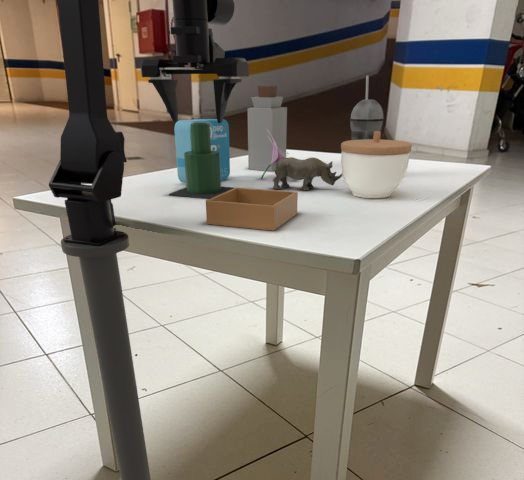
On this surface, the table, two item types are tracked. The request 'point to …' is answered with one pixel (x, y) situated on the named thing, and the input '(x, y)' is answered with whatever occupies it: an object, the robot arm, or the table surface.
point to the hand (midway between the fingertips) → (197, 122)
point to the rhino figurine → (303, 172)
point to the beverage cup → (366, 118)
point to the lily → (275, 155)
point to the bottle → (202, 162)
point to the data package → (217, 139)
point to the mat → (208, 196)
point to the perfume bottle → (259, 119)
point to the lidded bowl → (374, 165)
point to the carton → (252, 208)
